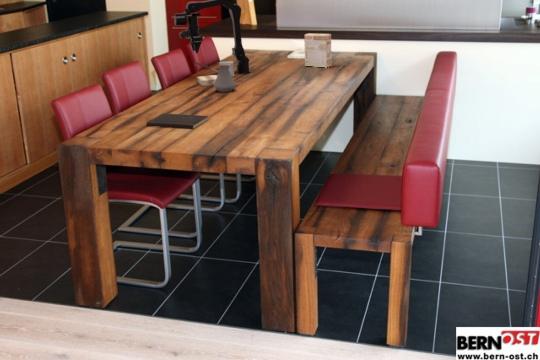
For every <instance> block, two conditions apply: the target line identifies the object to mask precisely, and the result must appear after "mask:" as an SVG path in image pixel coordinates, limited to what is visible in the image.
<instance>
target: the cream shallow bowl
mask: <svg viewBox="0 0 540 360" xmlns="http://www.w3.org/2000/svg"><path fill="white" fill-rule="evenodd" d="M217 75H218V74H214V75H213V74H212V75H203V76H196V81H197V83H198V85H200V86H201V87H206V86H214V84H215V81H216V78H217Z"/></svg>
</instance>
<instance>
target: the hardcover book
mask: <svg viewBox="0 0 540 360" xmlns="http://www.w3.org/2000/svg"><path fill="white" fill-rule="evenodd" d="M208 117H209V115H199V114H198V115H196V114H179V113H162V114H159V115H158V116H155V117H154V118H151V119H150V120H148V121H146V125H145V126H146V127H153V126H160V127H159V128H169V127H171V128H172V129H184V130H185V129H187V130H188V129H189V130H194V129H196V128H197V127H199V126H200V125H202V124H203V123H205V122H207V121H208Z"/></svg>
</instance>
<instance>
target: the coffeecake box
mask: <svg viewBox="0 0 540 360" xmlns="http://www.w3.org/2000/svg"><path fill="white" fill-rule="evenodd" d="M305 66H313V67H312V68H317V67H325V68H324V69H328V68H330V67H329V66H331V67H332V34H331V33H317V32H316V33H313V32H312V33H310V32H308V33H305V34H304V67H305ZM327 67H328V68H327Z"/></svg>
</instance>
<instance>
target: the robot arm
mask: <svg viewBox="0 0 540 360" xmlns="http://www.w3.org/2000/svg"><path fill="white" fill-rule="evenodd" d="M218 6H223V7H225V8H226V9H227V10H228V11H229V15H230V18H231V20H232V30H233V32H232V33H233V40H234V47H231V51H232V53H231V55H232V56H233V58H234V59H236V62H237V64H236V72H237V74H240V75H241V74H250V73H251V72H250V64H249V63H250V58H249V57H248V56H246V52H245V48H244V46H243V41H242V40H243V39H242V31H241V16H242V7H241V6H240V5H238V4H236V3H233V2H232V1H230V0H203V1H189V2H187V3H186V5H185V9H184V11H183V12H182V13H174V19H173V20H174V21H173V22H174V25H175V27H178V26H181V27H182V26H186V24H187V27H186V29H184V30H182V31H180V32H178V35H179V38H180V39H182V40H183V39H185V38H186V39H187V41H188V42H189V43H190V46H191V49H192V52H195V54H199V50H200V47H201V45H202V43H203V37H202V36H201V34H200V32H199V30H200V26H199V17H201V16H202V14H201V13H199V12H200V11H201V10H204V9H207V8H213V7H218Z"/></svg>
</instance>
